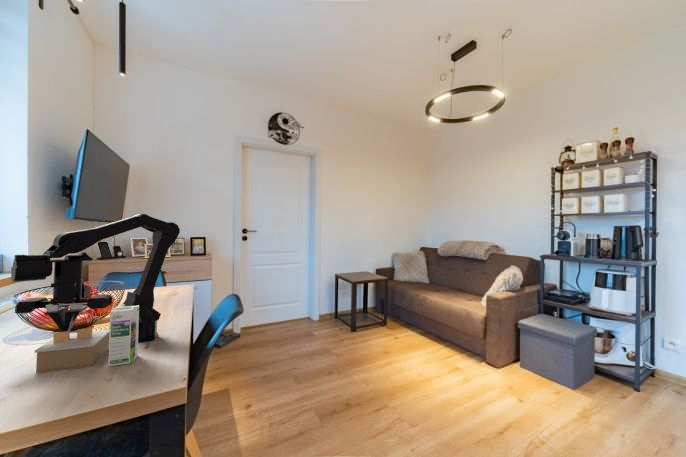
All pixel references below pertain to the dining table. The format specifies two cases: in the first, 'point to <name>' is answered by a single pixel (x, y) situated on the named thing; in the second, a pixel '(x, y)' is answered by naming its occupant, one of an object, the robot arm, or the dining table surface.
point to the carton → (71, 357)
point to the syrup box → (123, 335)
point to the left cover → (67, 342)
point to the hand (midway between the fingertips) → (66, 334)
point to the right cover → (87, 334)
